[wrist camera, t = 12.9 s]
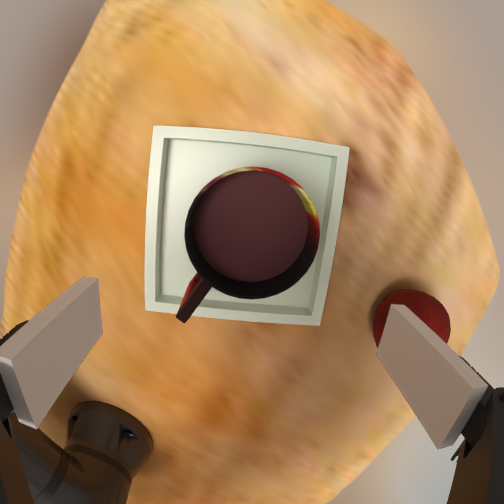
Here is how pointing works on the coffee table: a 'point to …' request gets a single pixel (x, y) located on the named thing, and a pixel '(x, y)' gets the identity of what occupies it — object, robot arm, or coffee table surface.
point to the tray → (201, 173)
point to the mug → (248, 236)
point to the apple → (420, 306)
